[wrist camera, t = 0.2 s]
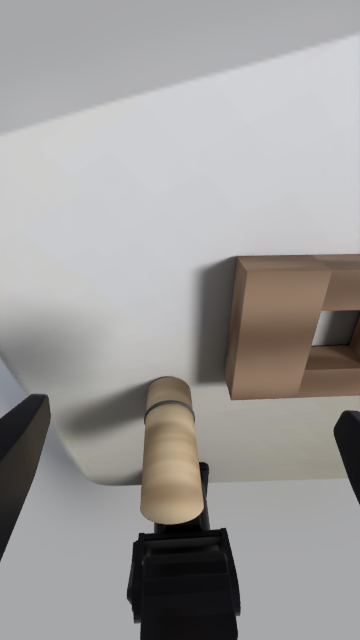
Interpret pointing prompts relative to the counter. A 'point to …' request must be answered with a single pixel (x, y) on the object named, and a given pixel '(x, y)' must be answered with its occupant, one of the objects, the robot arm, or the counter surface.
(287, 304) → the walnut board
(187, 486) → the oak peg
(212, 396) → the counter surface
